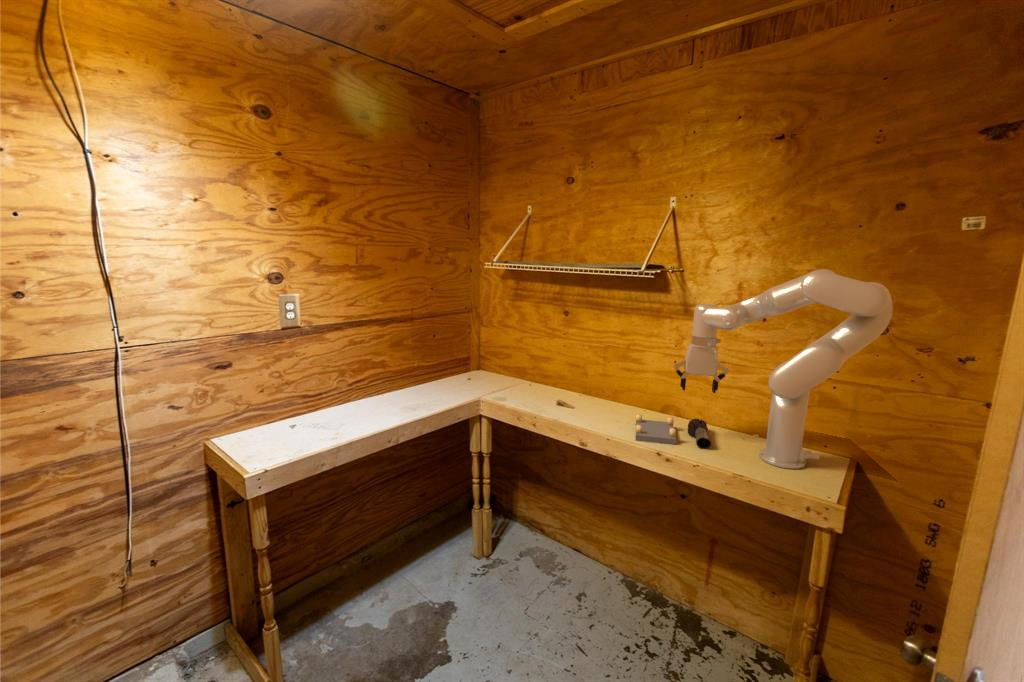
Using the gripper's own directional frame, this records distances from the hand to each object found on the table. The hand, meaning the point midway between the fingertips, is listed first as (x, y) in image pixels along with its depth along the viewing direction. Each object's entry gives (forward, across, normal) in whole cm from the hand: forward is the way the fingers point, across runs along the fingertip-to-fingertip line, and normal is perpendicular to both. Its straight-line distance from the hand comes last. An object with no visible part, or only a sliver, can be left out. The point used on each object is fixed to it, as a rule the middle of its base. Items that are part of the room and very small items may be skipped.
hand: (698, 390), depth 156 cm
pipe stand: (+17, +13, 0) cm, 22 cm away
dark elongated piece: (+18, -2, 0) cm, 18 cm away
